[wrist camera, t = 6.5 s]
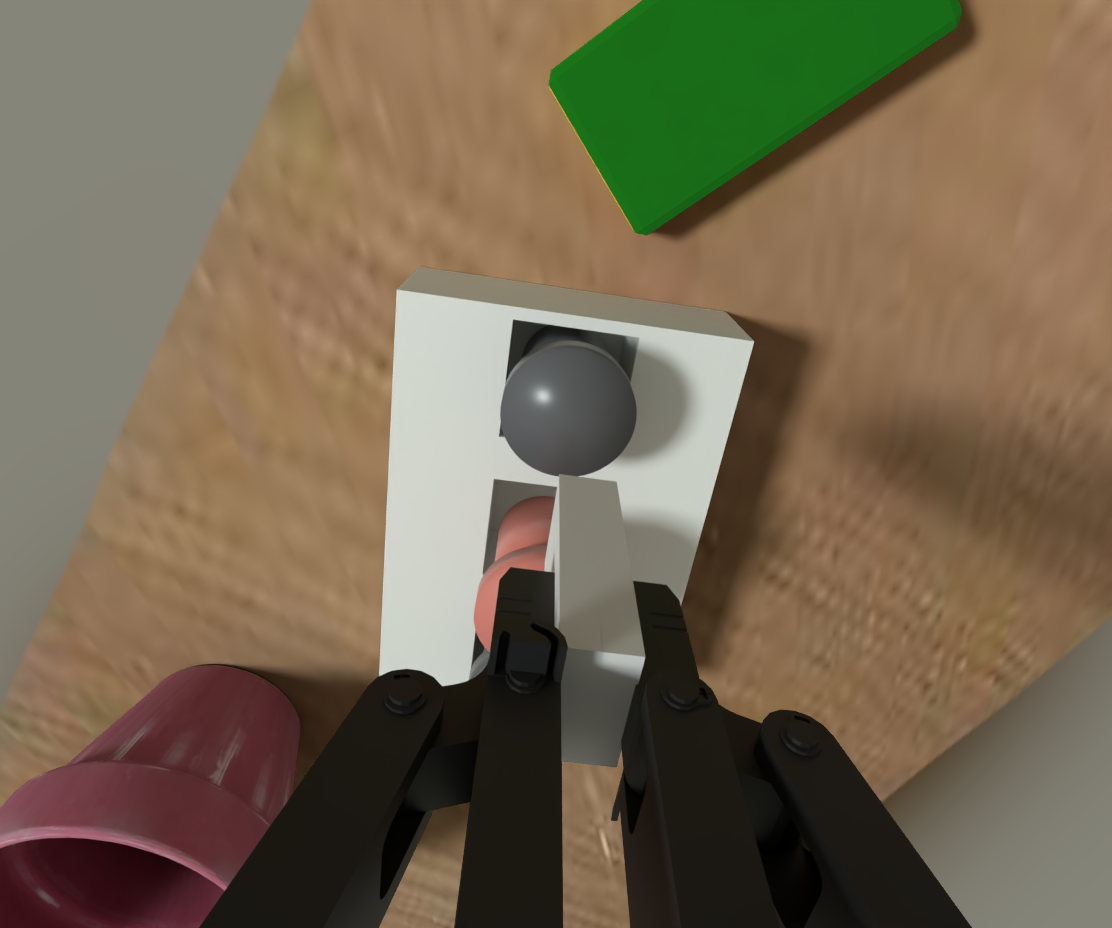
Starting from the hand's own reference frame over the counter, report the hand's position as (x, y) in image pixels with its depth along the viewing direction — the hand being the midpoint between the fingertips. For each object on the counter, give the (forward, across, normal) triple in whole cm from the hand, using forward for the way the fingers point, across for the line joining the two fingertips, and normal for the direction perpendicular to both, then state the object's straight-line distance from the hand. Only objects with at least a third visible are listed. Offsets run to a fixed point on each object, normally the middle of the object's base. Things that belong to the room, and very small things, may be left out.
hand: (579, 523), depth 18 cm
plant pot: (+16, -17, -26) cm, 35 cm away
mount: (+16, 0, -7) cm, 17 cm away
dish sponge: (+17, +5, +13) cm, 22 cm away
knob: (+14, 0, 0) cm, 14 cm away
